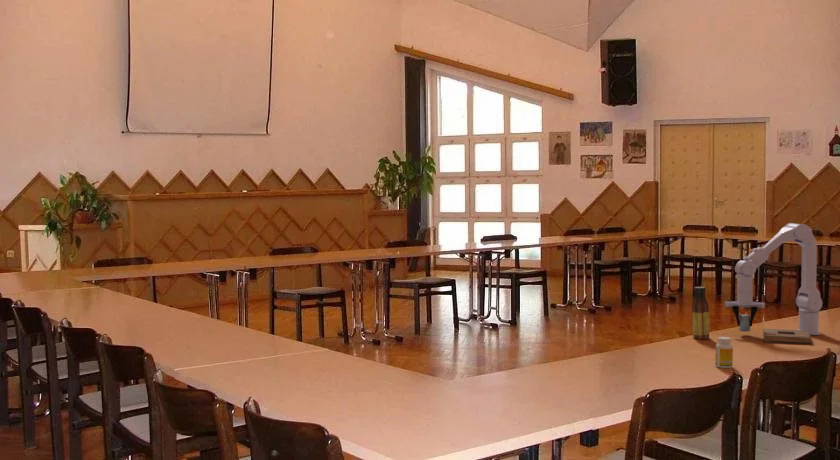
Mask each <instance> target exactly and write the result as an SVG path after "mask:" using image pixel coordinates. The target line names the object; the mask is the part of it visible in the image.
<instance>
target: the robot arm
mask: <svg viewBox="0 0 840 460" xmlns="http://www.w3.org/2000/svg"><path fill="white" fill-rule="evenodd" d="M785 242H796V243H797V244H798V245H799V246H800V247H801V286H800V288H799V289H798V290H797V291H798V292H797V296H796V298H795V304H796V306H797V307H798V328H797V329H796V330H807V331H808V333H809V335H810V336H821V333H820V329H819V323H820V322H819V319H820V310H821V308H822V307H823V300H822V297H821V292H820V290H819V289H818V287H817V270H818V269H817V266H818V265H817V263H818V262H817V259H818V257H817V255H818V251H817V249H818V248H817V247H818V243H817V239H816V238H815V236H814V233H813V228H811V227H810V226H809V225H807V224H806V223H805V224H804V223H795V222H794V223H793V222H788V223H787V224H786V225H785V226H783V227H782V228H780V230H779V231H778V232H777V233H776V234H775V235H774V236H773V237H772V238H771V239H770V240H768V242H766V243H765V244H764V246H763V247H762V246H761V247H760V246H759V247H754V248H752V252H750V253H749V254H748V255H747V256H744V257H743V260H739V261H738V262H737V263H736V264H735V267H734V271H735V273H736V274H737V275H736V276H737V277H736V282H737V284H736V285H737V287H736V289H737V290H736V293H737V294H736V301H725V303H724V305H725V306H724V307H725V308H729V307H730V308H732V311H733V314H734V317H735V319H736V323H737V324H736V325H737V327H739V315H740V308H750V327H753V321H754V318H755V316H756V314H757V312H758V309H759V308H760V309H765V307H766V303H765V302H757V301H753V296H754V295H753V293H754V292H753V290H754V289H753V286H754V282H753V281H754V280H753V279H754V276H753V275H755V273H756V271H757V269H758V268H759V267H760V266H761V265H762V264H764V263H765V262H766V261H767V260H768V259H769V257H770V254H771V253H772V252H774V250H776V249H777V248H778V247H780V246H781V245H782V244H784V243H785Z"/></svg>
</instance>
